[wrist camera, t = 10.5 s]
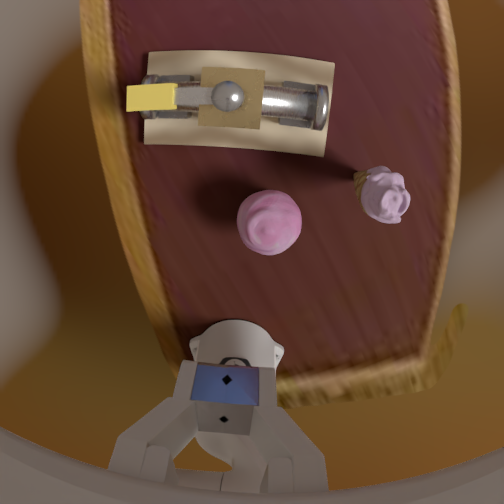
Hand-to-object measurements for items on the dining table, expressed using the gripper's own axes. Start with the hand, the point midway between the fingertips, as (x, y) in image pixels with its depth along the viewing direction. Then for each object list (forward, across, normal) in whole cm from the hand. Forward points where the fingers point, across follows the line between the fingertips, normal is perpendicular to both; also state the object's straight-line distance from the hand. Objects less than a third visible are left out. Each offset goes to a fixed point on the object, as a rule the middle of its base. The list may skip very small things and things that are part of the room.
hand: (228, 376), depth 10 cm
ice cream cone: (+39, -16, 0) cm, 42 cm away
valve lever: (+26, +7, -9) cm, 29 cm away
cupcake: (+39, -3, +7) cm, 40 cm away
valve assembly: (+39, +3, -9) cm, 40 cm away
